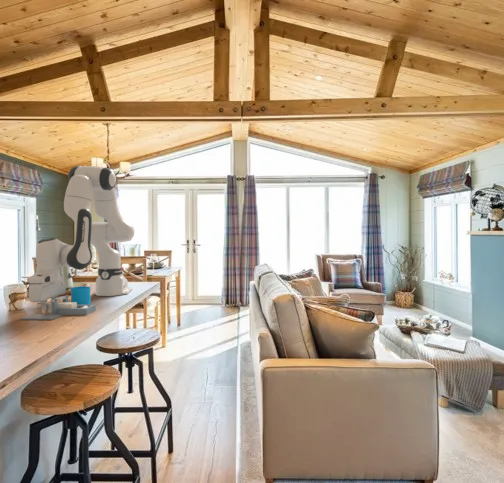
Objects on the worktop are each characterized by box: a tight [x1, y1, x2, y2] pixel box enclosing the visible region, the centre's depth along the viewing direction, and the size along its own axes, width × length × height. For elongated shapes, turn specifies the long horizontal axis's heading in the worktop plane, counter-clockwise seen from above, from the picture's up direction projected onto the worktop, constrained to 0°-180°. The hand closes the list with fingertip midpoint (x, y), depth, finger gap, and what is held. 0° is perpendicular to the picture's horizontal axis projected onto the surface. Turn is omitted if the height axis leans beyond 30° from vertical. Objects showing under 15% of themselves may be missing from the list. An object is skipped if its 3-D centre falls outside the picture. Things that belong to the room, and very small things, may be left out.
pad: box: [19, 313, 63, 321], centre depth 142 cm, size 7×13×1 cm, turn 87°
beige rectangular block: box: [41, 301, 77, 314], centre depth 151 cm, size 13×4×4 cm, turn 87°
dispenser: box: [50, 294, 97, 316], centre depth 151 cm, size 14×10×6 cm
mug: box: [70, 285, 92, 305], centre depth 167 cm, size 12×8×8 cm
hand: (49, 308), depth 151 cm, fingers closed on beige rectangular block, 4 cm apart
